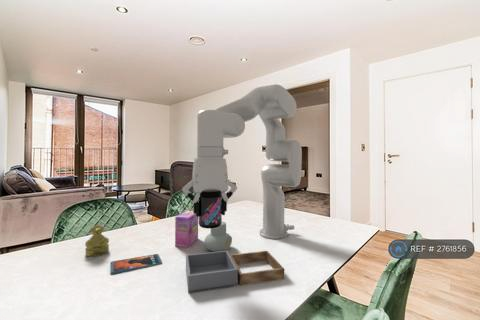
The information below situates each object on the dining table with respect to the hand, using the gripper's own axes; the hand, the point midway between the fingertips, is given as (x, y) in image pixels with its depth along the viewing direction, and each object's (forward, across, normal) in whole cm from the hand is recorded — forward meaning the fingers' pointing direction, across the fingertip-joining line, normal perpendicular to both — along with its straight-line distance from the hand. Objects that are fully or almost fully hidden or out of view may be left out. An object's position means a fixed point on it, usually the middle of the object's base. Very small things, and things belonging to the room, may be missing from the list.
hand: (210, 214), depth 69 cm
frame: (+18, -14, 0) cm, 23 cm away
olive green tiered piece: (+19, +37, -28) cm, 50 cm away
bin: (+18, 0, 0) cm, 18 cm away
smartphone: (+19, +22, -14) cm, 33 cm away
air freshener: (+19, -6, -20) cm, 28 cm away
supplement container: (+3, 0, 0) cm, 3 cm away
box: (+19, +5, -30) cm, 35 cm away
